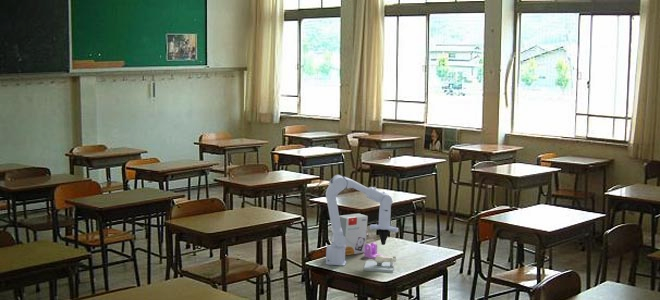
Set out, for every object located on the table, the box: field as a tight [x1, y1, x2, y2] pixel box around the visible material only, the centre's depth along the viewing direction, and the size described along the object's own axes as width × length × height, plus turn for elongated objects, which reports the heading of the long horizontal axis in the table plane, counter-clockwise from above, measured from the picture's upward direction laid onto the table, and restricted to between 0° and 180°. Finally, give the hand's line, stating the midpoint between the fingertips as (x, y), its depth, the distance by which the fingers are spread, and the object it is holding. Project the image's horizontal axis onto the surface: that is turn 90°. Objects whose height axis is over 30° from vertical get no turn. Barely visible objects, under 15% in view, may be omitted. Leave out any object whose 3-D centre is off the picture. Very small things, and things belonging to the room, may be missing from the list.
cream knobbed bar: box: [375, 254, 397, 263], centre depth 399 cm, size 10×4×3 cm, turn 93°
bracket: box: [364, 242, 388, 260], centre depth 418 cm, size 13×6×7 cm, turn 47°
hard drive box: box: [339, 213, 369, 256], centre depth 425 cm, size 16×8×20 cm, turn 129°
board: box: [363, 258, 395, 274], centre depth 399 cm, size 14×14×6 cm
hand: (383, 244), depth 406 cm, fingers closed
